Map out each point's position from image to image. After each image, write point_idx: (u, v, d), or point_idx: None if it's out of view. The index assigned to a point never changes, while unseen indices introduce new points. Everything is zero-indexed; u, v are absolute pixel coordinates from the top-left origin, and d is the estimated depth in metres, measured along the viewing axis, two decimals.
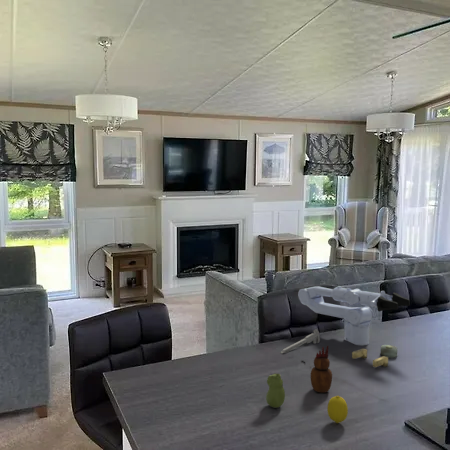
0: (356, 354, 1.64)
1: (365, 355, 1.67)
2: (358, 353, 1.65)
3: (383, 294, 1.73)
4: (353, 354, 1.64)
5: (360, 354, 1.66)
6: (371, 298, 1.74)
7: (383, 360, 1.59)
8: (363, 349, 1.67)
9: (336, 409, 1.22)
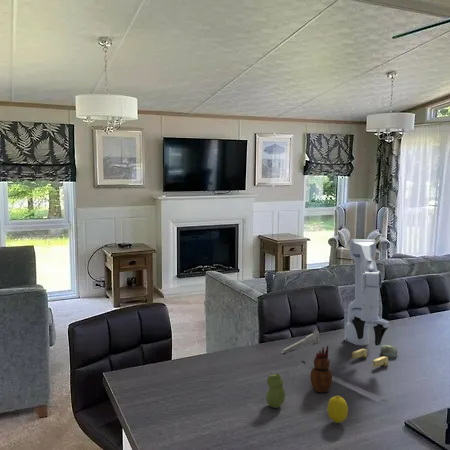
0: (356, 354, 1.64)
1: (365, 355, 1.67)
2: (358, 353, 1.65)
3: None
4: (353, 354, 1.64)
5: (360, 354, 1.66)
6: None
7: (383, 360, 1.59)
8: (363, 349, 1.67)
9: (336, 409, 1.22)
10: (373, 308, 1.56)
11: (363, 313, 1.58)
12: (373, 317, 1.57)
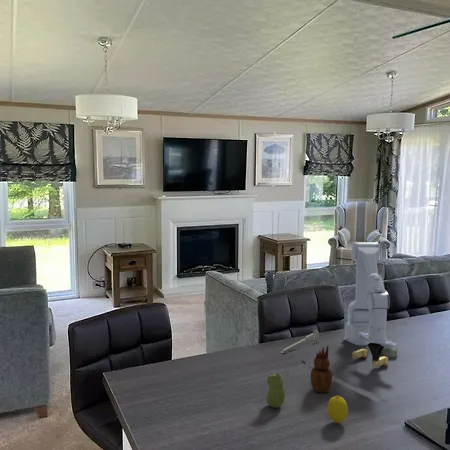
0: (356, 354, 1.64)
1: (365, 355, 1.67)
2: (358, 353, 1.65)
3: None
4: (353, 354, 1.64)
5: (360, 354, 1.66)
6: None
7: (383, 360, 1.59)
8: (363, 349, 1.67)
9: (336, 409, 1.22)
10: (380, 330, 1.54)
11: (370, 335, 1.56)
12: (380, 339, 1.55)
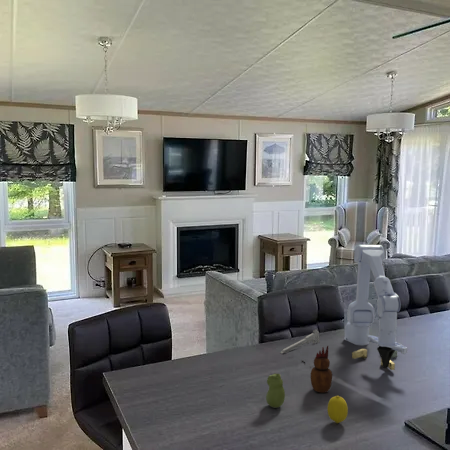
0: (356, 354, 1.64)
1: (365, 355, 1.67)
2: (358, 353, 1.65)
3: None
4: (353, 354, 1.64)
5: (360, 354, 1.66)
6: None
7: None
8: (363, 349, 1.67)
9: (336, 409, 1.22)
10: (391, 333, 1.51)
11: (380, 338, 1.53)
12: (390, 342, 1.51)
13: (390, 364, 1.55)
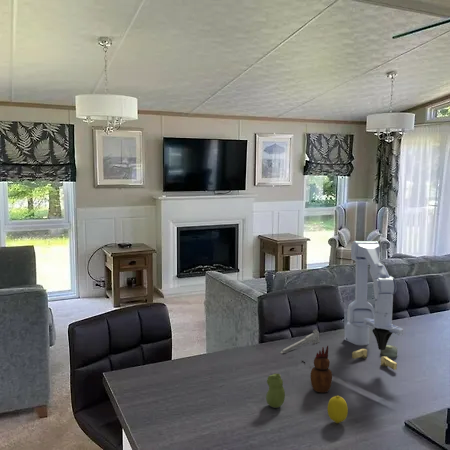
0: (356, 354, 1.64)
1: (365, 355, 1.67)
2: (358, 353, 1.65)
3: None
4: (353, 354, 1.64)
5: (360, 354, 1.66)
6: None
7: None
8: (363, 349, 1.67)
9: (336, 409, 1.22)
10: (387, 315, 1.52)
11: (376, 320, 1.54)
12: (387, 324, 1.52)
13: (392, 364, 1.55)
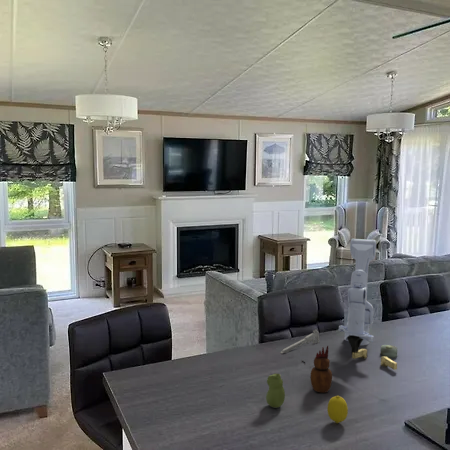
0: (356, 354, 1.64)
1: (365, 355, 1.67)
2: (358, 353, 1.65)
3: None
4: (353, 354, 1.64)
5: (361, 354, 1.66)
6: None
7: None
8: (363, 349, 1.67)
9: (336, 409, 1.22)
10: (359, 323, 1.62)
11: (349, 327, 1.64)
12: (359, 332, 1.62)
13: (392, 364, 1.55)
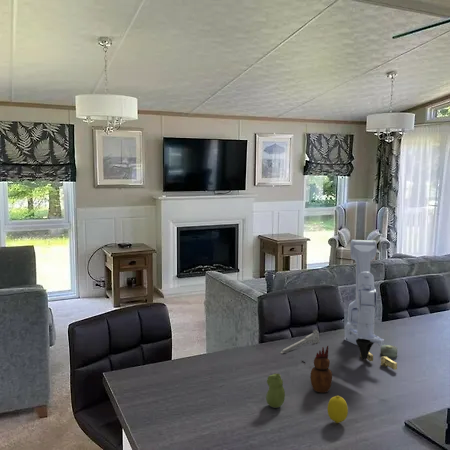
0: None
1: None
2: None
3: None
4: (371, 357, 1.62)
5: None
6: None
7: None
8: None
9: (336, 409, 1.22)
10: (368, 326, 1.58)
11: (359, 331, 1.60)
12: (368, 335, 1.59)
13: (392, 364, 1.55)
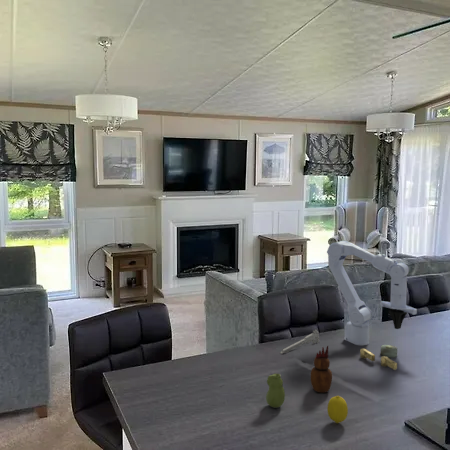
0: None
1: None
2: None
3: None
4: (373, 356, 1.62)
5: None
6: None
7: None
8: (364, 349, 1.67)
9: (336, 409, 1.22)
10: (401, 297, 1.69)
11: (392, 302, 1.72)
12: (402, 305, 1.70)
13: (392, 364, 1.55)
